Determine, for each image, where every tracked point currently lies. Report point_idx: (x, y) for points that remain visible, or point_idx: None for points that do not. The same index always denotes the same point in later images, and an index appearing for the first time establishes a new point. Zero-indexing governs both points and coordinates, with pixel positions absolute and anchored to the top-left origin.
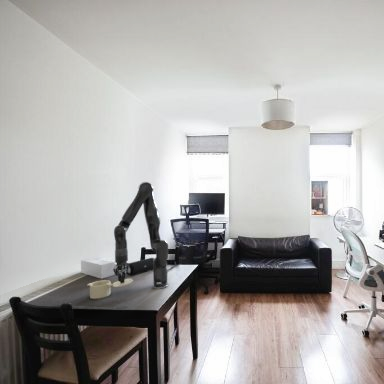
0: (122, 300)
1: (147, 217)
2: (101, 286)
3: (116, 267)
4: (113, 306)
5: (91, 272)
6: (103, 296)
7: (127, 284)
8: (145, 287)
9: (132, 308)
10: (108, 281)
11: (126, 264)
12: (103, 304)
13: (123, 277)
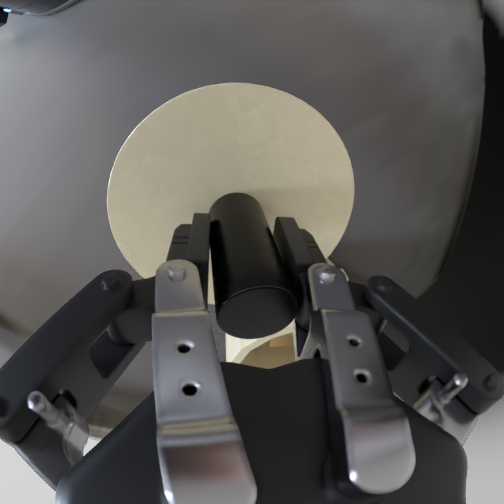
0: (382, 96)
1: None
2: None
3: (467, 431)
4: (456, 121)
5: None
6: (331, 264)
7: (307, 106)
8: (75, 65)
9: (470, 14)
10: (247, 350)
11: (64, 445)
12: (423, 196)
13: (252, 232)
